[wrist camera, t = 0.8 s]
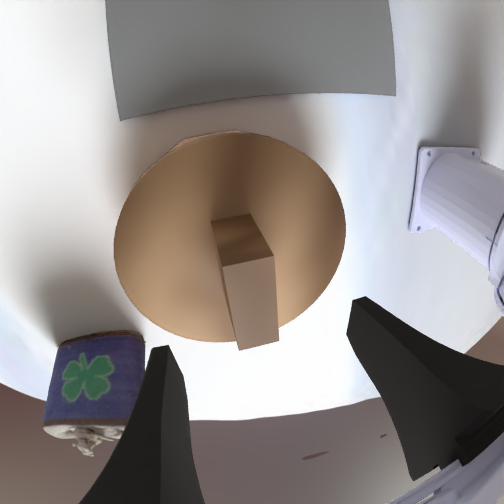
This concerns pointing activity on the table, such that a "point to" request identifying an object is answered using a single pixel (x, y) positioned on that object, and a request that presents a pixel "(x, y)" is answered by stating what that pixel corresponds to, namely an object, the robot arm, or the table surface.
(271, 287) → the lid
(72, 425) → the flask
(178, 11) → the mat
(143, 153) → the table surface
